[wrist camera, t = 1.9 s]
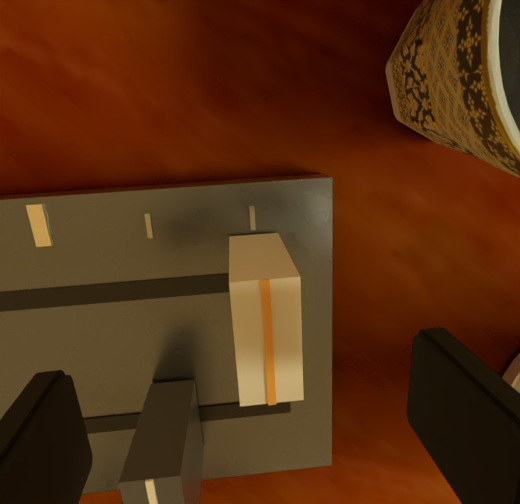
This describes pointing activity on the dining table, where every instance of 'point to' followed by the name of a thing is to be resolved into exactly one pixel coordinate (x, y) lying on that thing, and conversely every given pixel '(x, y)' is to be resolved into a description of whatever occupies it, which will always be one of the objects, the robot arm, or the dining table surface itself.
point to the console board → (164, 312)
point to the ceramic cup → (461, 78)
